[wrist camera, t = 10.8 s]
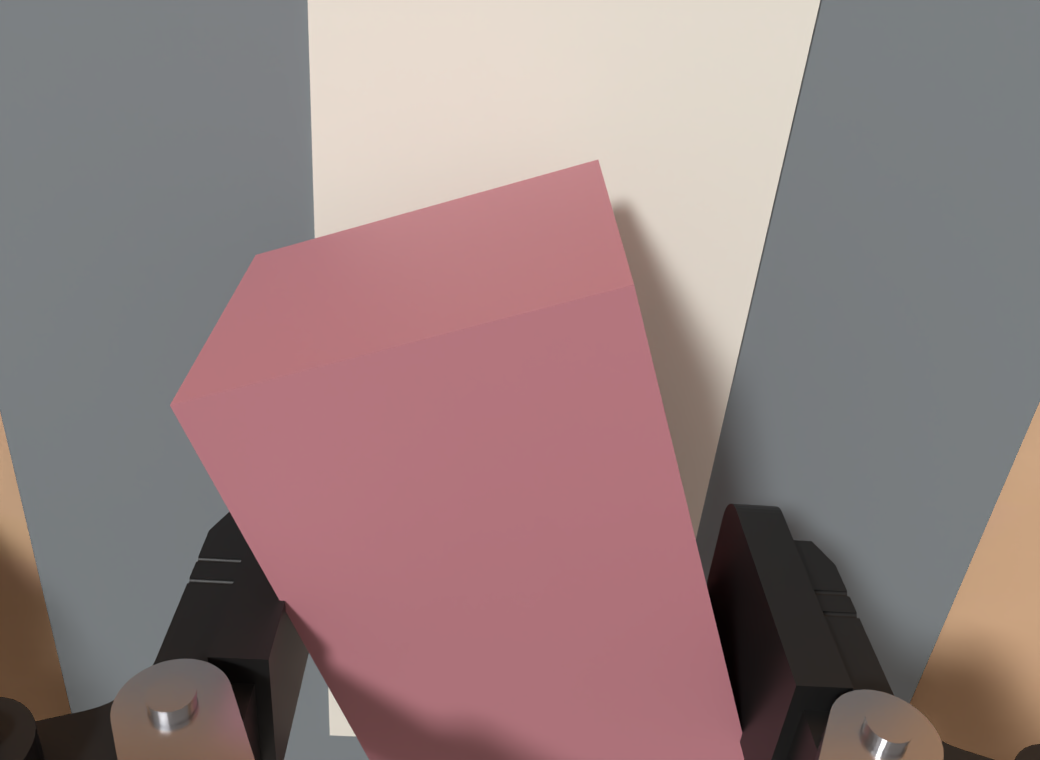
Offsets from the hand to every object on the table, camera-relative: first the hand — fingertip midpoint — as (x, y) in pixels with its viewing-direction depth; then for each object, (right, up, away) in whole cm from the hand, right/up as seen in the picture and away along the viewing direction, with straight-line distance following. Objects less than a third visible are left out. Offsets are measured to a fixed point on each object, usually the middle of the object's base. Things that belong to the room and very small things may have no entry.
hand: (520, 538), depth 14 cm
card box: (0, +1, +1) cm, 1 cm away
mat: (0, +2, +3) cm, 3 cm away
